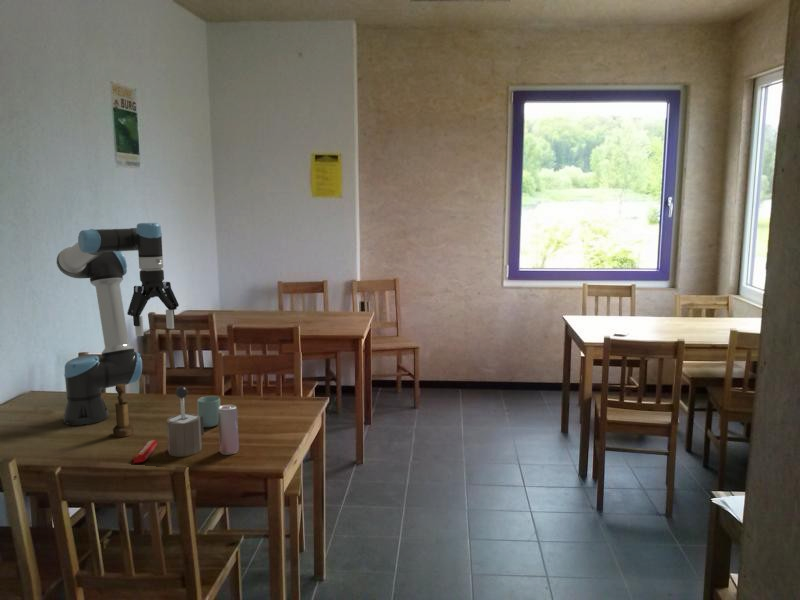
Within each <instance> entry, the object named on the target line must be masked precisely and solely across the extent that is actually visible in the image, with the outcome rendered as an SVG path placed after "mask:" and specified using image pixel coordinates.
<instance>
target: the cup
mask: <svg viewBox="0 0 800 600" xmlns="http://www.w3.org/2000/svg"><path fill="white" fill-rule="evenodd" d="M196 403H197V404H196V405H197V406H196V407H197V415H199V416H203V428H213V427H216V426H218V425H219V424H218V408H219V407H220V406H221V399H220V397H219V396H216V395H207V396H202V397H199V398H197V402H196Z"/></svg>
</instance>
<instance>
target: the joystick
mask: <svg viewBox="0 0 800 600" xmlns="http://www.w3.org/2000/svg"><path fill="white" fill-rule="evenodd" d="M175 394H176V397H178V398H179V399H180V400H179V401H180V405H179V406H180V414H181V420H185V414H186V409H185V397H186V396H187V395H188V388H186V387H185V386H178V387H177V388H176V390H175Z"/></svg>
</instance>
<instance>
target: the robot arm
mask: <svg viewBox="0 0 800 600" xmlns="http://www.w3.org/2000/svg"><path fill="white" fill-rule="evenodd" d="M162 238H163V233H162V227H161V225H160V223H158V222H138V223H137V224H136V227H130V228H107V229H105V228H104V229H98V228H97V229H93V228H91V229H82V230H80V232H79V233H78V237H77V242H76V243H75V244H73V246H68V247H66V248H63V249H61V251H60V252H58V254H57V257H56V265H57V268H58V269H59V271H60V272H61V273H63V275H65V276H67V277H69V278H74V279H89V281H90V282H89V283H90V284H91V285H92V286H94V287H95V291H96V292H95V293H96V298H97V304H98V309H99V310H98V311H99V316H100V322H101V330H102V335H103V336H102V337H103V342H104V349H103V351H102V352H101V357H99V356H98V355H97V354H89V355H81V356H78V357H75V358H71V359H70V360H68V361H67V362H66V363H65V365H64V373H63V375H64V378H65V379H64V380H65V392H66V393H65V394H66V404H65V408H64V412H63V416H62V417H63V418H62V419H63V423H64V422H65V423H68V424H74V425H73V426H83V424H86V425H91V424H95V423H99V422H101V421H104V420H106V419H107V418H108V417H109V410H108V408H107V406H106V403H105V401H104V398H103V396H102V389H108V388H109V389H110V388H115V387H116V385H118V384H123V385H124V386H127V385H130V384H132V383H133V384H134V383H136V382H138V381H139V380H140V378H141V375H142V371H143V360H142V357H141V354H140V353H139V352H136V351H135V348H134V347H133V346H132V345H131V344H130V343H129V335H128V330H127V323H126V316H125V310H124V309H125V308H124V304H123V303H124V302H123V299H122V298H123V297H122V292H121V291H122V290H121V285H120V284H121V283H122V282H123V280H124V276H125V275H126V274H127V271H128V270H127V267H128V265H127V260H126V257H125V255H124V253H123V252H132V251H133V252H134V251H137V253H138V269H140V270H139V280H140V282H141V285H134V286H133V294H132V295H131V300H130V304H129V306H128V309H127V313H126V314H127V315H128V316H130V317H133V319H132V320H133V326H134V331H135V336H136V337H143V336H145V335H144V324H143V322H144V320H143V319H144V318H143V315H141V314H142V313H143V311H144V309H145V307H146V306H147V303H148V302H149V300H150V299H151V298H153V299H154V298H155V297H156V298H159V300H160V301H161V302H162V304H163V305H164V306H165V307H166V309H165V319H166V329H170V330H174V329H175V320H174V319H175V318H176V317H175V311H176V310H177V309H178V307H179V305H180V304H179V302H178V300H177V298H176V296H175V293H174V292H173V289H172V285H171V282H170V281H164V280H165V274H164V273H165V271H164V269H163V268H164V259H163V239H162ZM65 423H64V424H65ZM68 424H67V425H68Z"/></svg>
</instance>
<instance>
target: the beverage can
mask: <svg viewBox="0 0 800 600" xmlns="http://www.w3.org/2000/svg"><path fill="white" fill-rule="evenodd" d="M238 419H239V418H238V408H237V405H235V404H223V405H220V407H219V408H218V424H217V425H218V440H219V452H220V453H221V454H222V455H225V456H230V455H234V454H236V453H238V451H239V449H240V445H239V444H240V443H239V423H238V422H239V420H238Z"/></svg>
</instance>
